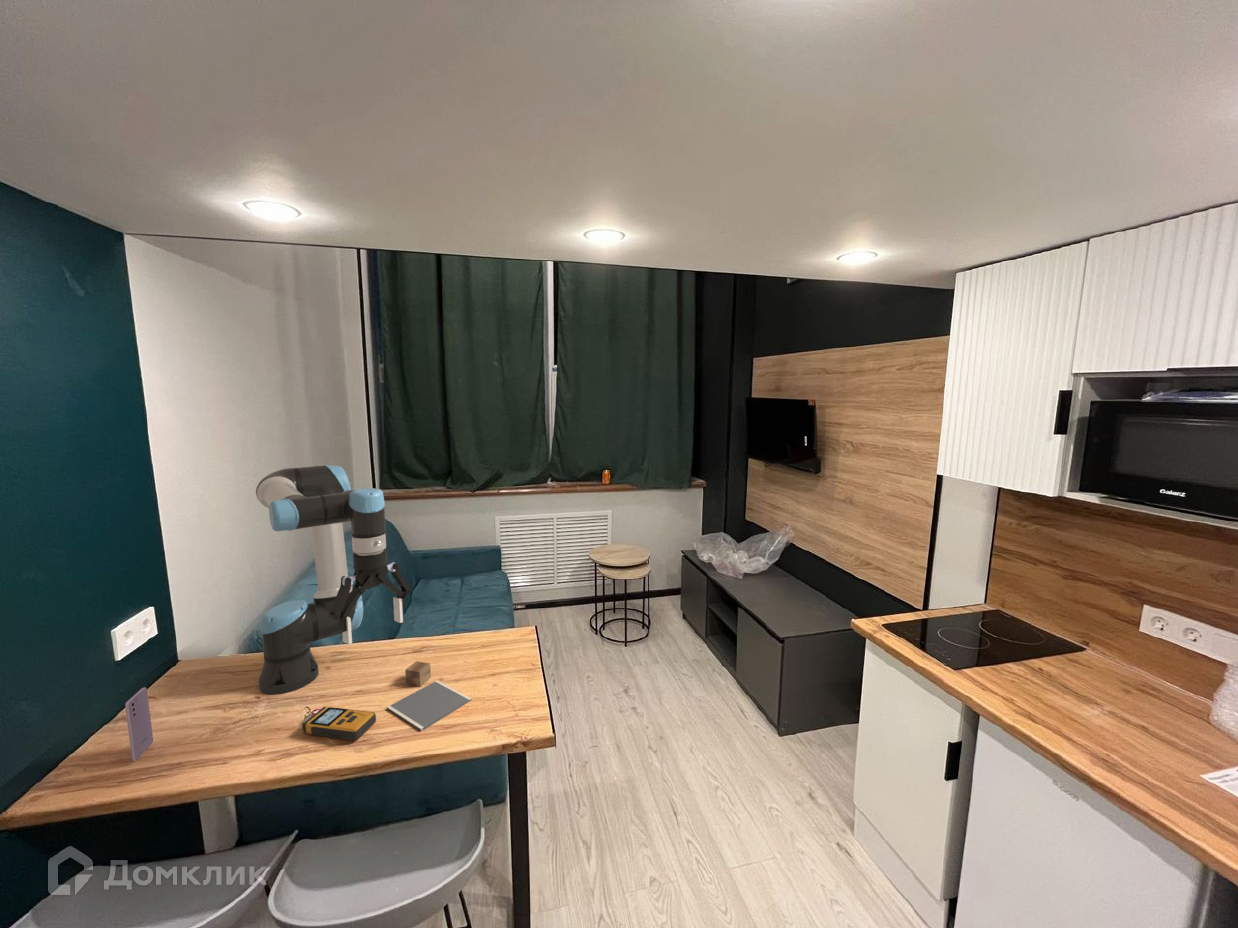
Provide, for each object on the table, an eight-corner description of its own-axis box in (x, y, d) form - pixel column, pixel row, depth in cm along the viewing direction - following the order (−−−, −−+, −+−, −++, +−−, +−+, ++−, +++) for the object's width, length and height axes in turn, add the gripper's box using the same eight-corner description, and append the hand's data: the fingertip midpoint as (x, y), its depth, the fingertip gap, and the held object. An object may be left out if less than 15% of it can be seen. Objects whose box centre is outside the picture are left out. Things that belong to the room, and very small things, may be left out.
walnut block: (406, 685, 147) (405, 669, 146) (416, 676, 152) (416, 661, 151) (420, 687, 146) (419, 671, 145) (430, 678, 151) (430, 663, 150)
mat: (386, 709, 135) (386, 706, 135) (437, 682, 148) (437, 680, 148) (421, 731, 126) (421, 728, 126) (471, 700, 139) (471, 698, 139)
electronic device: (356, 743, 121) (354, 731, 121) (302, 735, 124) (300, 723, 124) (378, 721, 129) (377, 709, 129) (327, 714, 132) (326, 703, 132)
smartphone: (150, 742, 122) (143, 686, 120) (154, 741, 122) (147, 685, 120) (131, 762, 115) (124, 703, 113) (136, 762, 115) (128, 702, 113)
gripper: (325, 568, 109) (331, 657, 112) (423, 541, 130) (426, 616, 133) (308, 561, 113) (315, 647, 116) (405, 536, 134) (409, 610, 137)
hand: (374, 631), depth 125 cm, fingers open, 13 cm apart
